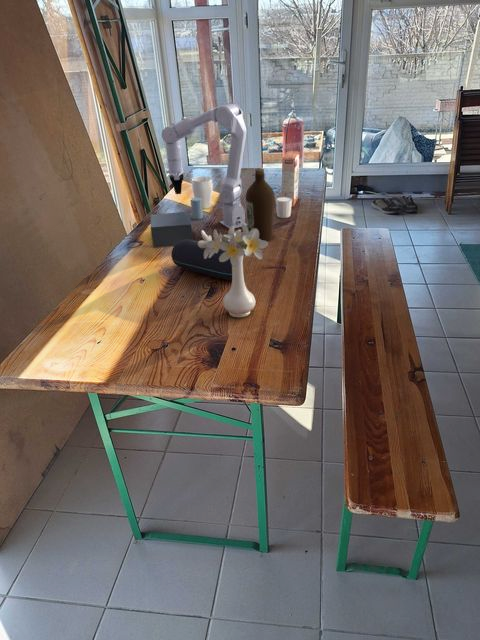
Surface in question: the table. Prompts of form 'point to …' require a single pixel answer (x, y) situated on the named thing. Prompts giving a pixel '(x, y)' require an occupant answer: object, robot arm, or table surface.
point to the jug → (196, 208)
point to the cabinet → (170, 228)
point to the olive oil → (260, 206)
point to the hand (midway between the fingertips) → (178, 193)
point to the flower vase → (235, 264)
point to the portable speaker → (200, 260)
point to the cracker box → (290, 175)
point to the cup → (203, 190)
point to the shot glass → (283, 207)
